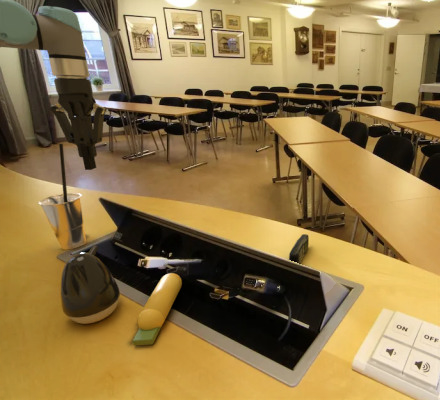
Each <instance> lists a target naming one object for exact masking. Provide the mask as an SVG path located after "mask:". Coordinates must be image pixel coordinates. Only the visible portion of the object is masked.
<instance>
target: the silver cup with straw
mask: <svg viewBox="0 0 440 400" xmlns="http://www.w3.org/2000/svg"><path fill="white" fill-rule="evenodd" d="M58 147H59V149H58V150H59V160H60V173H61V185H62V193H58V194H54V195H49V196H46V197H43V198H41V199H40V200H38V201H37V204H38V205H40V206H41V208H42V211H43V213H44V214H45V218H46V219H47V221H48V223H49V225H50V227H51V229H52V231H53V234H54V235H55V237H56V240H57V242H58V244H59V246H60V249H62V250H67V251H68V250H74V248H75V249H78V248H80V247H79V246H81V247H82V245H83V246H84V245H86V243H87V239H86V232H85V231H86V230H85V226H84V218H83V211H82V203H81V198H82V194H81V193H77V192H68V190H67V189H68V187H67V176H66V165H65V155H64V144H63V143H58ZM77 247H78V248H77Z"/></svg>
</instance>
